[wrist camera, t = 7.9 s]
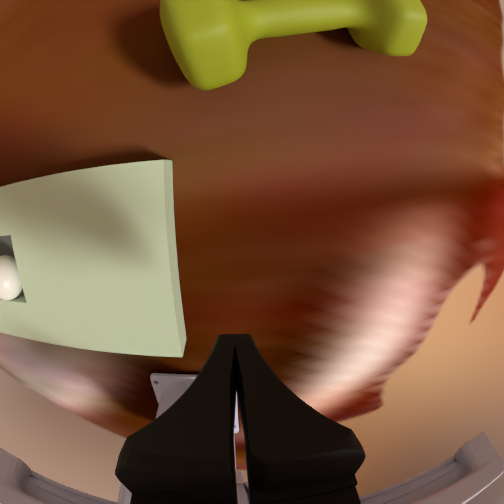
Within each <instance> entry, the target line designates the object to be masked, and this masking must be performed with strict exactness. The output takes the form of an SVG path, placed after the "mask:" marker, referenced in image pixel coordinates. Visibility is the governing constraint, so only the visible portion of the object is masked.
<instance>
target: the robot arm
mask: <svg viewBox="0 0 504 504" xmlns="http://www.w3.org/2000/svg"><path fill="white" fill-rule="evenodd" d="M150 379H151V383H152V386H153V389H154V392H155V395H156V398H157V401H158V404H159V406H158V411H157V415H156V419H155V420H153V421H152V422H151V423H149V424H148V425H147V426H145V427H143V428H142V429H140V430H139V431H137V432H135V433H134V434H132V435H130V436H129V437H127V439H126V441H125V443H124V445H123V448H122V449H121V452H120V454H119V458H118V462H117V466H116V470H115V475H116V476H117V478H118V479H119V481H120V482H121V486H120V490H119V496H118V503H117V502H113V501H110V500H106V499H103V498H99V497H96V496H93V495H90V494H87V493H84V492H81V491H78V490H75V489H73V488H70V487H67V486H65V485H62V484H60V483H57V482H55V481H53V480H51V479H48V478H46V477H44V476H42V475H40V474H38V473H36V472H34V471H31V469H30V468H29V467H28V466H27V465H26V464H25V463H24V462H23V461H21V460H20V459H19V458H17V457H15V456H14V455H12V454H10V453H8V452H7V451H5V450H3V449H1V448H0V503H1V504H465V503H466V502H468V501H469V500H471V499H472V498H473V497H475V496H476V495H478V494H479V493H480V492H481V491H483V490H484V489H485V488H486V487H488V486H489V485H490V484H491V483H493V482H494V481H495V480H496V479H497V478H498V477H499V476H500V475H502V474H503V473H504V460H503V459H502V457H501V456H500V454H499V453H498V451H497V450H496V448H495V447H494V446H493V444H492V443H491V441H490V440H489V439H488V437H487V436H486V434H485V433H484V432H482V433H480V434H479V435H477V436H476V437H474V438H473V439H471V440H470V441H468V442H466V443H465V444H464V445H463V446H461V447H460V448H459V450H458V451H457V452H456V453H455V455H454V456H452V457H450V458H449V459H447V460H445V461H443V462H441V463H440V464H438V465H436V466H434V467H432V468H430V469H428V470H426V471H424V472H422V473H420V474H418V475H415V476H413V477H411V478H409V479H406V480H404V481H402V482H399V483H397V484H394V485H392V486H389V487H386V488H384V489H381V490H378V491H375V492H372V493H369V494H366V495H363V496H360V497H359V496H358V493H357V490H356V487H355V486H356V485H357V480H356V477H355V473H356V472H357V470H358V469H359V468H360V466H361V465H362V463H363V462H364V459H365V453H364V450H363V448H362V445H361V444H360V442H359V440H358V439H357V437H356V436H355V434H354V432H353V431H352V430H351V429H349V428H347V427H345V426H343V425H341V424H339V423H337V422H334V421H332V420H330V419H329V418H327V417H325V416H324V415H322V414H320V413H319V412H317V411H316V410H315V409H313V408H312V407H310V406H309V405H308V404H306V403H305V402H304V401H302V400H301V399H300V398H299V397H297V396H296V395H295V394H294V393H293V392H292V391H291V390H290V389H289V388H288V387H287V386H286V385H285V384H284V383H283V382H282V381H281V380H280V379H279V378H278V377H277V375H276V374H275V373H274V372H273V371H272V369H271V368H270V367H269V365H268V364H267V362H266V361H265V360H264V358H263V357H262V355H261V354H260V352H259V350H258V348H257V347H256V345H255V343H254V341H253V338H252V336H251V335H250V334H225V335H219V336H218V337H217V340H216V342H215V345H214V347H213V349H212V351H211V354H210V355H209V357H208V359H207V361H206V363H205V364H204V366H203V368H202V369H201V371H200V372H199V374H198V375H187V374H164V373H152V374H151V376H150ZM156 381H158V382H156ZM237 395H238V401H239V407H240V413H241V419H242V424H243V430H244V437H245V449H246V463H247V474H248V482H243V472H242V471H236V459H235V438H234V433H237V432H238V431H239V428H238V409H237Z"/></svg>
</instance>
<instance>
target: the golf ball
mask: <svg viewBox="0 0 504 504" xmlns="http://www.w3.org/2000/svg"><path fill="white" fill-rule="evenodd" d="M21 291H22V284H21V281H20V277H19V273H18V269H17V265H16V260H15V258H13V257H11V256H8V255H3V256H0V299H2V300H12V299H14V298H16V297H17V296H18V295H19V294H20V292H21Z"/></svg>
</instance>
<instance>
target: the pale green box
mask: <svg viewBox="0 0 504 504" xmlns="http://www.w3.org/2000/svg"><path fill="white" fill-rule="evenodd" d="M3 255H8V256H11V257H13V258H15V260H16V265H17V269H18V273H19V277H20V281H21V284H22V291H21V292H20V294H19V295H18V296H17V297H16V298H14V299H12V300H2V299H0V332H1V333H4V334H8V335H12V336H17V337H21V338H25V339H30V340H35V341H39V342H45V343H50V344H55V345H61V346H67V347H73V348H80V349H87V350H95V351H103V352H112V353H122V354H134V355H148V356H166V357H183V352H184V347H185V342H186V332H185V325H184V317H183V310H182V301H181V293H180V283H179V273H178V263H177V251H176V237H175V222H174V203H173V173H172V160H153V161H143V162H133V163H124V164H115V165H108V166H100V167H93V168H87V169H81V170H75V171H69V172H63V173H58V174H53V175H48V176H43V177H39V178H34V179H30V180H25V181H21V182H17V183H13V184H9V185H5V186H2V187H0V256H3Z"/></svg>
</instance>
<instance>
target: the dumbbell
mask: <svg viewBox="0 0 504 504" xmlns="http://www.w3.org/2000/svg"><path fill="white" fill-rule="evenodd" d="M160 20H161V24H162V27H163V31H164V33H165V36H166V39H167V42H168V44H169V47H170V49H171V51H172V54H173V56H174V58H175V60H176V62H177V64H178V65H179V67H180V69H181V71H182V72H183V74H184V76H185V77H186V79H187V80H188V82H189V83H190V84H191V85H192V86H194V87H195V88H197V89H200V90H212V89H215V88H218V87H221V86H224V85H227V84H229V83H232V82H234V81H236V80H237V79H239V78H240V77H241V76H242V74H243V73H244V71H245V68H246V63H247V52H248V48H249V46H250V44H251V43H252V42H253V41H255V40H258V39H262V38H271V37H281V36H288V35H296V34H304V33H312V32H319V31H327V30H334V29H339V28H346V27H347V29H348V31H349V33H350V35H351V36H352V38H353V40H354V41H355V43H356V44H357V45H359V46H360V47H362V48H364V49H367V50H370V51H373V52H376V53H380V54H384V55H390V56H408V55H411V54H412V53H413V52H414V51H415V50H416V48H417V46H418V44H419V42H420V40H421V37H422V35H423V32H424V30H425V27H426V23H427V14H426V11H425V9H424V7H423V5H422V3H421V1H420V0H247V1H240V0H161V1H160Z"/></svg>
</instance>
